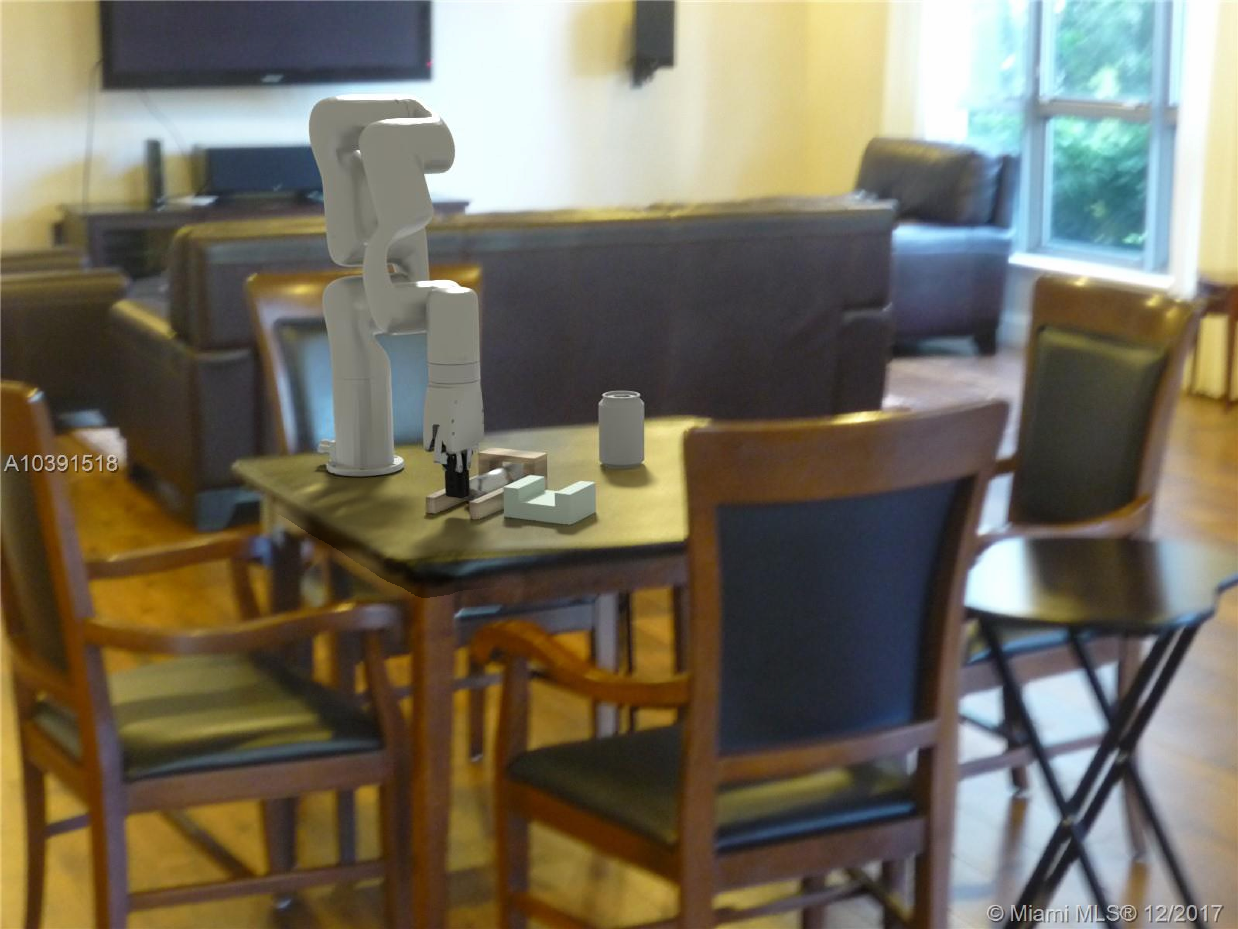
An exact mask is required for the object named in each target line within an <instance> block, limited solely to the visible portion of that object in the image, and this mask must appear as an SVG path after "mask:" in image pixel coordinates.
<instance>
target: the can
mask: <svg viewBox="0 0 1238 929" xmlns="http://www.w3.org/2000/svg"><path fill="white" fill-rule="evenodd" d="M601 395H602V399H601V400H600V401H599V402H598V461H599V462H600V463H601V464H603V466H604V467H606V468H610V469H615V470H617V469H619V470H622V469H623V470H625V469H626V470H627V469H634V468H637V467H639V466H640V465H641V464H642V463H643V462H644V461H645V403H644V401H643V400H642V399H641V398H640V397H641V394H640V393H639V392H636V391H630V390H615V391H614V390H612V391H607V392H604V393H603V394H601Z"/></svg>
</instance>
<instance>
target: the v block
mask: <svg viewBox="0 0 1238 929" xmlns="http://www.w3.org/2000/svg"><path fill="white" fill-rule="evenodd" d="M596 484H597V483H596V482H595V481H585V480H578V481H577V482H574V483H573V484H570V485H568V486H566V487H564V488H562V489H559V490H549V489H548V490H545V477H542V476H533V475H529V476H527V477H525V478H522V479H520V480H518V481H516V482H513V483H511V484H509V485H506V486H504V487H503V496H504V508H503V517H504V518H510V517H511V519H512V518H513V519H518V520H519V519H520V520H528V521H534V520H535V521H536V522H541V523H543V522H544V523H551V524H559V525H561V524H562V525H566V524H567V526H572V525H573V524H575V523H577V522H580V521H581V520H583V519H586V518H587V517H589V516H591V515H593V514H595V513H596V512H597V506H596V505H597V502H596V500H597V498H596V496H597V494H596V490H597V489H596V486H597V485H596ZM571 524H572V525H571Z"/></svg>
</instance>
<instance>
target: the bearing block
mask: <svg viewBox="0 0 1238 929" xmlns="http://www.w3.org/2000/svg"><path fill="white" fill-rule="evenodd" d="M503 462H506V463H521V464H523V478H525V477H527V476H529V475H533V476H542V477H545V490H549V489H548V487H549V486H548V485H549V483H548V453H547V452H540V451H539V452H538V451H529V450H518V449H511V448H501V447H500V448H499V447H489V448H486V449H483V450H481V451H479V452H477V465H478V466H477V467H478V468H477V469H478V474H477V475H475V476H472V477H469V480H471V479H473V478H475V477H478V476H480V475H483V474H485V473H487V472H490V471H492V470H495V469H497V468H499V467H502V466H504V465H503ZM466 501H468V500H467V498H466V497H465V498H454V497H447V496H446V494H445V488H443V489H440V490H439V491H436V492H434V493H430V494H428V495H426V496H425V514H429V513H436V514H438V512H439V513H441V512H443V511H446V510H448V509H450V508H452V507H455V506H456V505H459V504H461V503H463V502H466ZM468 505H469V519H470V518H474V519H473V520H477V519H479V520H481V519H483V518H482V517H484V518H485V517H487V516H490V515H492V514H494V513H497V512H499V511H501V510H504V496H503V487H502V488H500V489H498V490H496V491H493V492H491V493H489V494H486V495H484V496H482V497H480V498H477V499H475V500H473V501H471V502H469V504H468ZM442 510H443V511H442ZM440 511H441V512H440ZM480 518H481V519H480Z"/></svg>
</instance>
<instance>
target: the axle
mask: <svg viewBox="0 0 1238 929" xmlns="http://www.w3.org/2000/svg"><path fill="white" fill-rule="evenodd" d="M522 478H523V464H521V463H512V462H508V463H506V464H504V465H503V466H502V467H499V468H497V469H495V470H492V471H490V472H487V473H485V474H483V475H480V476H478V477H475V478H473V479H471V480H469V486H470V495H469V496H467V497H466V498H467V500H466V501H467V502H471V501H473V500H475V499H477V498H480V497H482V496H484V495H486V494H489V493H491V492H493V491H496V490H498V489H500V488H502V487H504V486H506V485H509V484H511V483H513V482H516V481H518V480H520V479H522Z"/></svg>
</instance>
